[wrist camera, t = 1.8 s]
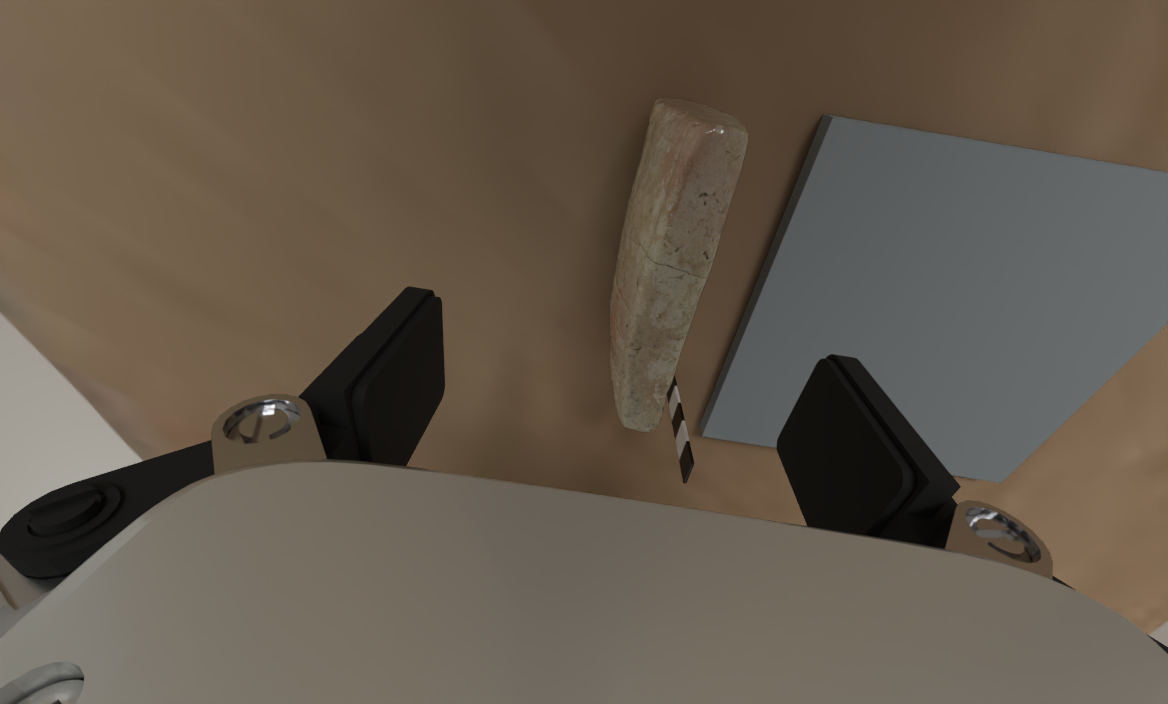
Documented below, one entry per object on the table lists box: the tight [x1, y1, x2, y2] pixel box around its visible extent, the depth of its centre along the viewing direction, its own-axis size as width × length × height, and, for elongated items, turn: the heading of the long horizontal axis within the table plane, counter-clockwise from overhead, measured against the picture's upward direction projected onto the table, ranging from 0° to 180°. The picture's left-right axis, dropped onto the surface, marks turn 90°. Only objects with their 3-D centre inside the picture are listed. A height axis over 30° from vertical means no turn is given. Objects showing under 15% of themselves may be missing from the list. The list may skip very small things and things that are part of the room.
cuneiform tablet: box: [609, 97, 748, 483], centre depth 16 cm, size 6×4×12 cm
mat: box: [700, 114, 1168, 483], centre depth 18 cm, size 14×15×1 cm
